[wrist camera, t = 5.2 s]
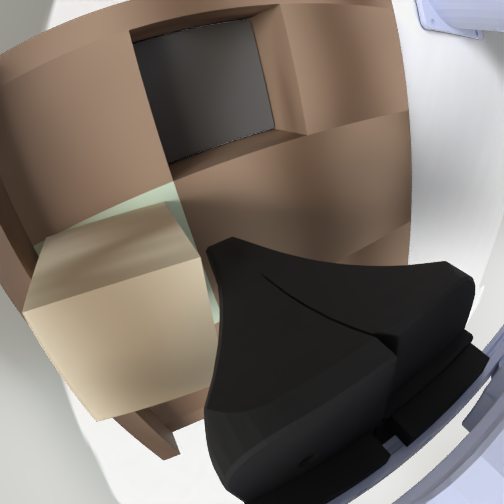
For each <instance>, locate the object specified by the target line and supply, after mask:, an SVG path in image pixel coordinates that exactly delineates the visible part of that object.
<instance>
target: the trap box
mask: <svg viewBox="0 0 504 504" xmlns="http://www.w3.org/2000/svg"><path fill="white" fill-rule="evenodd" d="M241 19H249V20H241ZM234 20H241V21H234ZM227 21H234V22H227ZM221 22H227V23H221ZM215 23H221V24H215ZM209 24H215V25H210V26H204V25H209ZM199 26H204V27H199ZM194 27H199V28H194ZM189 28H194V29H190V30H185V29H189ZM180 30H185V31H181V32H176V31H180ZM172 32H176V33H172ZM168 33H172V34H168ZM164 34H168V35H164ZM160 35H164V36H160ZM156 36H160V37H157V38H153V37H156ZM149 38H153V39H150V40H146V39H149ZM142 40H146V41H143V42H139V41H142ZM136 42H139V43H136ZM132 43H136V44H133V45H132ZM272 128H274V129H272ZM268 129H271V130H268ZM265 130H267V131H265ZM261 131H264V132H261ZM258 132H261V133H258ZM255 133H257V134H255ZM251 134H254V135H251ZM248 135H251V136H248ZM245 136H247V137H245ZM242 137H244V138H242ZM239 138H241V139H239ZM235 139H238V140H235ZM232 140H235V141H232ZM229 141H232V142H229ZM226 142H229V143H226ZM223 143H226V144H223ZM220 144H223V145H220ZM217 145H220V146H217ZM214 146H217V147H214ZM211 147H214V148H211ZM209 148H211V149H209ZM206 149H208V150H206ZM203 150H205V151H203ZM200 151H202V152H200ZM197 152H199V153H197ZM194 153H197V154H194ZM192 154H194V155H192ZM189 155H191V156H189ZM186 156H188V157H186ZM183 157H186V158H183ZM181 158H183V159H181ZM178 159H180V160H178ZM175 160H178V161H175ZM173 161H175V162H173ZM170 162H172V163H170ZM168 163H170V164H168ZM411 192H412V171H411V138H410V122H409V109H408V98H407V89H406V80H405V72H404V65H403V58H402V52H401V46H400V40H399V34H398V29H397V24H396V19H395V15H394V10H393V6H392V1H391V0H129V1H126V2H122V3H119V4H116V5H112V6H109V7H106V8H103V9H100V10H97V11H94V12H91V13H89V14H86V15H83V16H81V17H78V18H75V19H73V20H70V21H68V22H66V23H63V24H61V25H58V26H56V27H54V28H52V29H49V30H47V31H45V32H43V33H41V34H39V35H37V36H35V37H33V38H31V39H29V40H27V41H25V42H23V43H21V44H19V45H17V46H15V47H14V48H12V49H10V50H8V51H6V52H5V53H3V54H1V55H0V284H1V286H2V287H3V289H4V290H5V292H6V293H7V295H8V296H9V298H10V299H11V301H12V302H13V304H14V305H15V307H16V308H17V310H18V311H19V312H20V314H21V315H22V317H23V318H24V319H25V317H24V315H23V314H22V311H23V307H24V303H25V300H26V296H27V293H28V289H29V286H30V283H31V279H32V276H33V273H34V270H35V267H36V264H37V261H38V258H39V255H40V252H41V250H42V247H43V244H44V241H45V239H46V237H49V236H52V235H55V234H58V233H61V232H64V231H67V230H70V229H73V228H76V227H79V226H82V225H85V224H88V223H92V222H95V221H98V220H101V219H105V218H108V217H111V216H115V215H118V214H121V213H125V212H128V211H132V210H135V209H139V208H142V207H146V206H149V205H153V204H157V203H160V202H165V204H166V206H167V207H168V209H169V210H170V212H171V213H172V215H173V216H174V218H175V219H176V221H177V222H178V224H179V225H180V227H181V228H182V230H183V231H184V233H185V235H186V236H187V238H188V239H189V241H190V242H191V244H192V245H193V247H194V248H195V249H196V251H197V252H198V254H199V255H200V257H201V262H202V267H203V272H204V277H205V282H206V287H207V292H208V297H209V301H210V306H211V311H212V315H213V320H214V324H215V329H216V333H217V338H218V336H219V313H220V312H219V294H218V285H217V282H216V279H215V277H214V274H213V271H212V268H211V265H210V263H209V260H208V257H207V254H206V250H207V248H208V247H209V246H211V245H214V244H216V243H218V242H220V241H223V240H225V239H227V238H230V237H236V238H239V239H242V240H245V241H248V242H251V243H254V244H257V245H260V246H263V247H266V248H269V249H272V250H276V251H279V252H283V253H286V254H290V255H294V256H299V257H303V258H307V259H312V260H318V261H325V262H331V263H339V264H349V265H365V266H399V265H408V255H409V242H410V225H411ZM25 321H26V319H25ZM26 322H27V321H26ZM28 325H29V324H28ZM208 391H209V387H207V388H204V389H202V390H199V391H196V392H193V393H190V394H187V395H185V396H182V397H179V398H176V399H173V400H170V401H167V402H163V403H160V404H157V405H154V406H151V407H148V408H144V409H141V410H138V411H134V412H131V413H127V414H124V415H120V416H117V417H113V419H114V420H115V421H117V422H118V423H119V424H120V425H121V426H122V427H123V428H124V429H126V430H127V431H128V432H129V433H130V434H131V435H133V436H134V437H135V438H136V439H137V440H139V441H140V442H141V443H142V444H143V445H145V446H146V447H147V448H148V449H150V450H151V451H152V452H153V453H155V454H156V455H157V456H159V457H160V458H161V459H162V460H166V459H169V458H172V457H174V456H177V455H179V454H180V452H179V449H178V446H177V444H176V441H175V439H174V436H173V433H172V432H174V431H176V430H178V429H181V428H183V427H185V426H188V425H190V424H192V423H195V422H197V421H199V420H202V419H204V406H205V402H206V398H207V395H208Z"/></svg>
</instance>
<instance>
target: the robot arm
mask: <svg viewBox="0 0 504 504" xmlns="http://www.w3.org/2000/svg"><path fill="white" fill-rule="evenodd" d="M416 3H417V7H418V12H419V16H420V21H421V24H422V26H423V27H424V28H425V29H428V30H435V31H441V32H446V33H452V34H457V35H461V36H466V37H470V38H475V39H479V40H482V39H483V30H487V31H497V32H504V0H416ZM206 254H207V257H208V260H209V263H210V265H211V268H212V271H213V274H214V277H215V279H216V282H217V285H218V294H219V312H220V313H219V336H218V346H217V353H216V359H215V365H214V371H213V376H212V380H211V384H210V387H209V391H208V395H207V398H206V402H205V406H204V421H205V432H206V440H207V446H208V451H209V455H210V458H211V461H212V465H213V467H214V469H215V471H216V473H217V475H218V477H219V479H220V481H221V483H222V484H223V486H224V487H225V489H226V490H227V491H229V492H230V493H231V494H233V495H234V496H236V497H237V498H239V499H240V500H242V501H243V502H244V503H245V504H348V503H349V502H351V501H352V500H354V499H355V498H357V497H358V496H360V495H361V494H363V493H364V492H366V491H367V490H369V489H370V488H372V487H373V486H374V485H376V484H377V483H379V482H380V481H381V480H383V479H384V478H385V477H387V476H388V475H389V474H391V473H392V472H393V471H395V470H396V469H397V468H398V467H400V466H401V465H402V464H403V463H405V462H406V461H407V460H408V459H409V458H411V457H412V456H413V455H414V454H415V453H417V452H418V451H419V450H420V449H421V448H422V447H423V446H425V444H427V443H428V442H429V441H430V440H431V439H432V438H433V437H434V436H435V435H436V434H438V433H439V432H440V431H441V430H442V429H443V428H444V427H445V426H446V425H447V424H448V423H449V422H450V421H451V420H452V419H453V418H454V417H455V416H456V415H457V414H458V413H459V412H460V410H461V409H462V408H463V407H464V406H465V405H466V404H467V403H468V402H469V401H470V400H471V399H472V397H473V396H474V395H475V394H476V393H477V392H478V391H479V389H480V388H481V387H482V386H483V385H484V384H485V382H486V381H487V380H488V379H489V377H490V376H491V379H492V380H491V381H490V383H489V384H488V386H487V387H486V388H485V389H484V391H483V393H482V395H481V397H480V398H479V400H478V401H477V403H476V404H475V406H474V407H473V409H472V410H471V412H470V413H469V414H468V415H467V417H466V418H465V419H464V420H463V422H462V425H463V426H464V427H465V428H466V429H467V430H468V431H469V432H470V433H469V434H468V435H467V436H466V437H465V438H464V439H463V440H462V441H461V442H460V444H459V445H458V446H457V447H456V448H455V449H454V450H453V451H452V452H451V453H450V454H449V455H448V456H447V457H446V458H445V459H444V460H443V461H442V462H440V463H439V464H438V465H437V466H436V467H435V468H434V469H433V470H432V471H431V472H430V473H428V474H427V475H426V476H425V477H424V478H423V479H422V480H421V481H420V482H418V483H417V484H416V485H415V486H413V487H412V488H411V489H410V490H409V491H407V492H406V493H405V494H404V495H402V496H401V497H400V498H399V499H397V500H396V501H395V502H393V503H392V504H504V325H503V326H502V327H501V329H500V330H499V331H498V333H497V334H496V335H495V336H494V338H493V339H492V340H491V341H490V342H489V344H488V345H487V346H486V347H485V348H484V350H483V351H480V350H479V349H478V348H476V347H475V346H474V345H473V344H471V342H472V340H473V336H472V334H470V333H469V332H468V331H466V330H465V329H464V328H465V325H466V323H467V320H468V317H469V314H470V311H471V307H472V304H473V300H474V296H475V283H474V280H473V278H472V277H471V276H469V275H468V274H466V273H464V272H463V271H461V270H459V269H458V268H456V267H455V266H453V265H451V264H450V263H448V262H446V261H442V262H433V263H424V264H415V265H399V266H365V265H349V264H339V263H331V262H325V261H318V260H312V259H307V258H303V257H299V256H294V255H290V254H286V253H283V252H279V251H276V250H272V249H269V248H266V247H263V246H260V245H257V244H254V243H251V242H248V241H245V240H242V239H239V238H236V237H230V238H227V239H225V240H223V241H220V242H218V243H216V244H214V245H211V246H209V247H208V248H207V250H206Z"/></svg>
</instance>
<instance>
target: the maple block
mask: <svg viewBox="0 0 504 504" xmlns="http://www.w3.org/2000/svg"><path fill="white" fill-rule="evenodd" d="M22 314H23V315H24V317H25V319H26V321H27V323H28V324H29V326H30V328H31V329H32V331H33V333H34V335H35V336H36V338H37V340H38V341H39V343H40V345H41V346H42V348H43V349H44V351H45V352H46V354H47V356H48V357H49V359H50V360H51V362H52V363H53V365H54V366H55V368H56V369H57V371H58V372H59V373H60V375H61V376H62V378H63V379H64V381H65V382H66V383H67V385H68V386H69V387H70V389H71V390H72V392H73V393H74V394H75V396H76V397H77V398H78V399H79V401H80V402H81V403H82V405H83V406H84V407H85V408H86V410H87V411H88V412H89V413H90V415H91V416H92V417H93V418H94V419H95V421H96V422H98V421H101V420H105V419H109V418H113V417H117V416H120V415H124V414H127V413H131V412H134V411H138V410H141V409H144V408H148V407H151V406H154V405H157V404H160V403H163V402H167V401H170V400H173V399H176V398H179V397H182V396H185V395H187V394H190V393H193V392H196V391H199V390H202V389H204V388H207V387H210V384H211V380H212V376H213V371H214V365H215V359H216V353H217V346H218V338H217V333H216V329H215V324H214V320H213V315H212V311H211V306H210V301H209V297H208V292H207V287H206V282H205V277H204V272H203V267H202V262H201V257H200V255H199V254H198V252H197V251H196V249H195V248H194V247H193V245H192V244H191V242H190V241H189V239H188V238H187V236H186V235H185V233H184V231H183V230H182V228H181V227H180V225H179V224H178V222H177V221H176V219H175V218H174V216H173V215H172V213H171V212H170V210H169V209H168V207H167V206H166V204H165V202H160V203H157V204H153V205H149V206H146V207H142V208H139V209H135V210H132V211H128V212H125V213H121V214H118V215H115V216H111V217H108V218H105V219H101V220H98V221H95V222H92V223H88V224H85V225H82V226H79V227H76V228H73V229H70V230H67V231H64V232H61V233H58V234H55V235H52V236H49V237H46V239H45V241H44V244H43V247H42V250H41V252H40V255H39V258H38V261H37V264H36V267H35V270H34V273H33V276H32V279H31V283H30V286H29V289H28V293H27V296H26V300H25V303H24V307H23V311H22Z"/></svg>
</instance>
